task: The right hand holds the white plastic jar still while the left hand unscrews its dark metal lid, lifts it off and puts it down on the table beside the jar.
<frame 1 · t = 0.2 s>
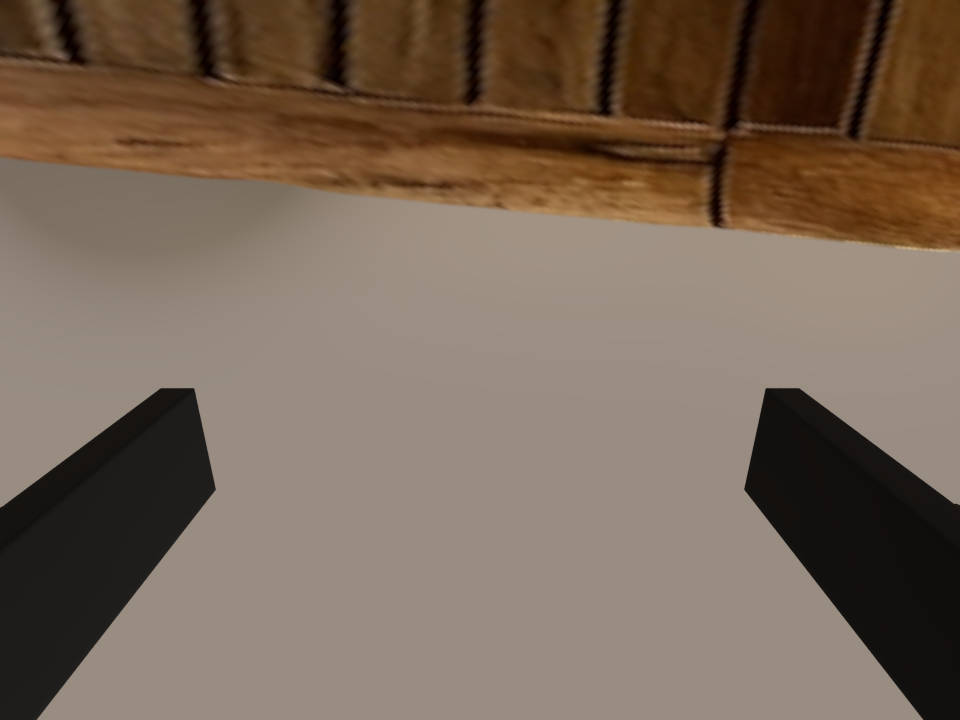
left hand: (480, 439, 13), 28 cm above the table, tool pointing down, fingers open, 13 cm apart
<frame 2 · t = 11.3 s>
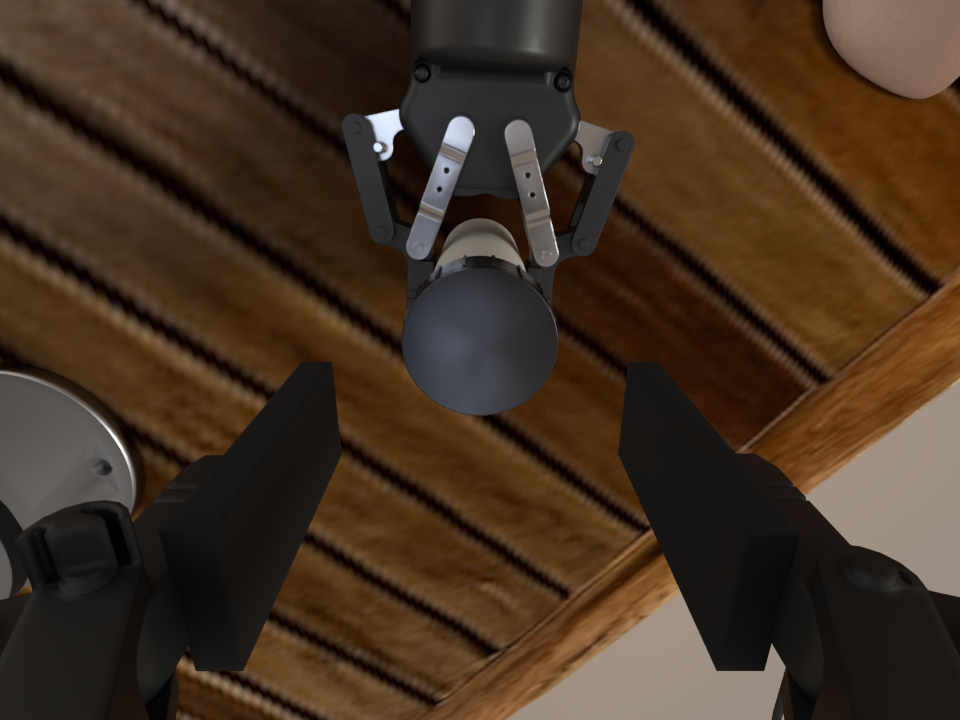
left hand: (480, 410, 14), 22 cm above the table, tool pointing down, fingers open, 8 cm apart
right hand: (477, 326, 29), fingers closed on jar, 4 cm apart
jar: (480, 256, 34), on the table, touching right hand
lid: (479, 342, 19), point 16 cm above the table, screwed on, not yet turned
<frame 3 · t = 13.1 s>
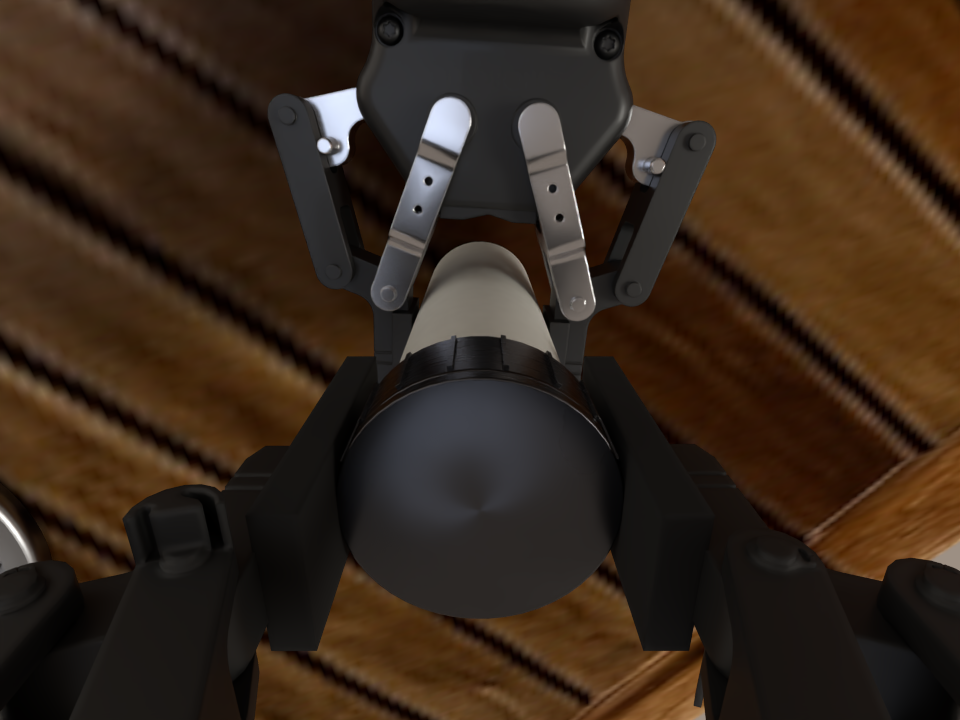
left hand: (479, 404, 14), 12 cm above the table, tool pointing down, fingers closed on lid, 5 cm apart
right hand: (476, 399, 21), fingers closed on jar, 4 cm apart
jar: (479, 292, 26), on the table, touching right hand
lid: (479, 499, 10), point 16 cm above the table, screwed on, not yet turned, touching left hand
when the left hand's fingers open (12 cm above the table, at t = 14.3 s): lid stays where it is, point 17 cm above the table.
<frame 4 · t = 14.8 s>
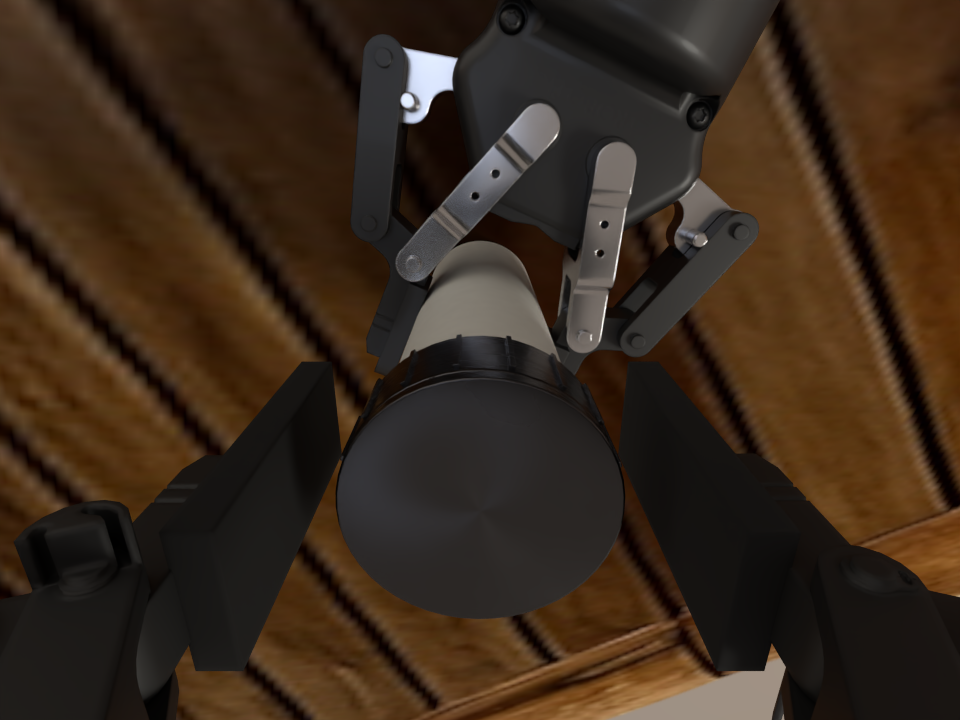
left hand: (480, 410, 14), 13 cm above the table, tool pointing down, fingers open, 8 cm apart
right hand: (453, 392, 21), fingers closed on jar, 4 cm apart
jar: (480, 290, 26), on the table, touching right hand
lid: (480, 499, 10), point 17 cm above the table, turned 61° so far, risen 0.2 cm, still on its thread
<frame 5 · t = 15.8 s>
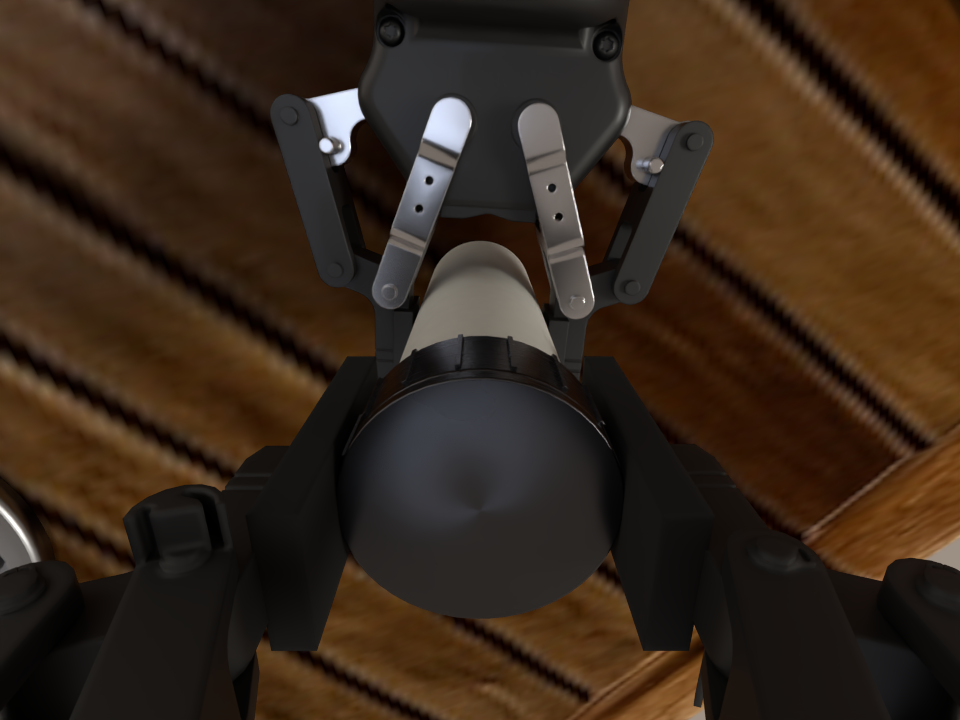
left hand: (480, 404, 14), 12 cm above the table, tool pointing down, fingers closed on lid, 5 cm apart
right hand: (476, 397, 21), fingers closed on jar, 4 cm apart
jar: (479, 290, 26), on the table, touching right hand
lid: (480, 499, 10), point 17 cm above the table, turned 61° so far, risen 0.2 cm, still on its thread, touching left hand
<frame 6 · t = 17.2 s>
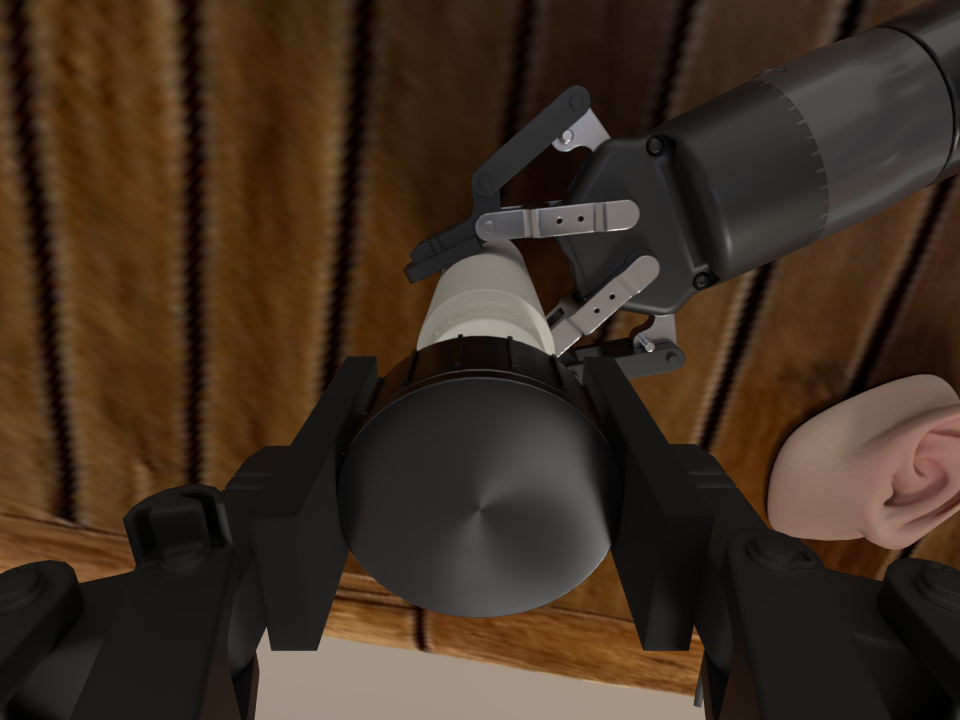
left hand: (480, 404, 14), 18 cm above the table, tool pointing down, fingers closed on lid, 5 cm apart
right hand: (436, 323, 26), fingers closed on jar, 4 cm apart
anatomical model: (860, 464, 36), on the table
jar: (484, 273, 32), on the table, touching right hand
lid: (480, 498, 10), point 23 cm above the table, off its thread, touching left hand
when the left hand's fingers open (0 cm above the table, at t = 22.5 s): lid drops 2 cm, point 2 cm above the table.
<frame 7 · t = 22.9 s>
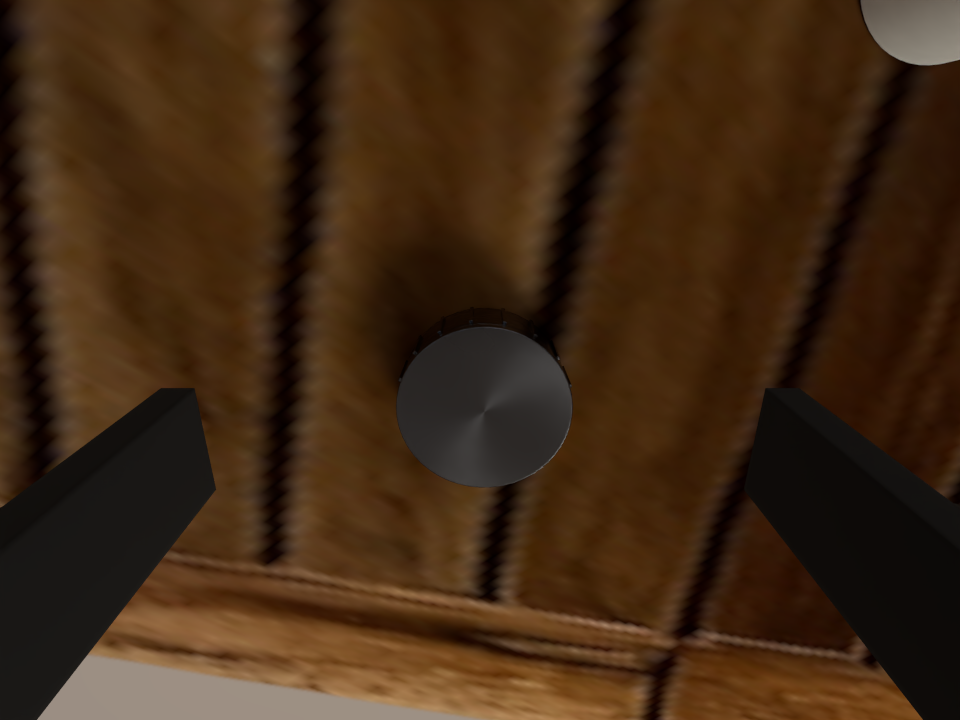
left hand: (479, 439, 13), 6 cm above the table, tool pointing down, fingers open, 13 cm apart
lid: (484, 407, 17), point 2 cm above the table, off its thread
when the right hand's fingers open (6 cm above the table, at t = 23.1 s): jar stays where it is, on the table.
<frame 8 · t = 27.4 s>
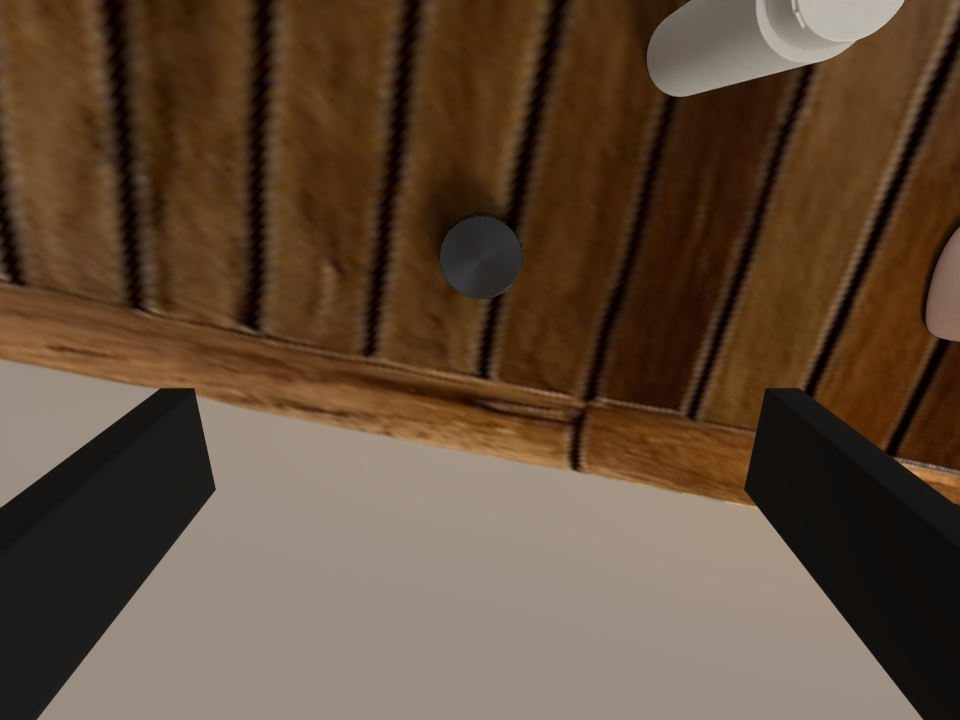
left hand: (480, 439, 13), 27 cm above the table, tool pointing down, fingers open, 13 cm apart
jar: (685, 53, 33), on the table
lid: (481, 257, 36), point 2 cm above the table, off its thread
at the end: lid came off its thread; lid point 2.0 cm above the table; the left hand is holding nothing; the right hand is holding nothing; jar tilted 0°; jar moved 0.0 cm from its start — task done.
